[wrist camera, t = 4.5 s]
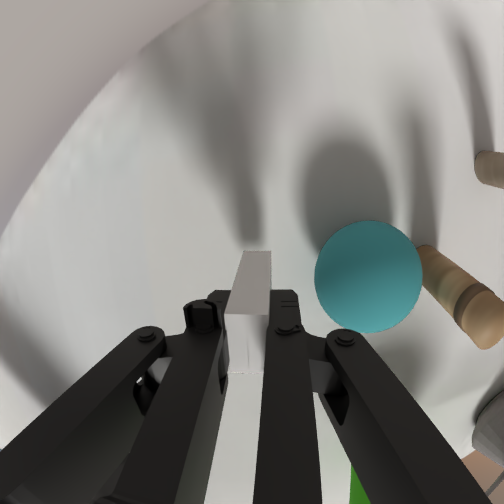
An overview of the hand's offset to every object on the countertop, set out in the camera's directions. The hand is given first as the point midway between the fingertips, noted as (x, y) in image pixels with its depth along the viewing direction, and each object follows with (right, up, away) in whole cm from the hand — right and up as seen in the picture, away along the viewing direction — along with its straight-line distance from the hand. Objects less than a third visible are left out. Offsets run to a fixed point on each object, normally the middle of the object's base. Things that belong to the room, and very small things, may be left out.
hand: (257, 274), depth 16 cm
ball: (+6, 0, -1) cm, 6 cm away
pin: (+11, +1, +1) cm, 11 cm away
